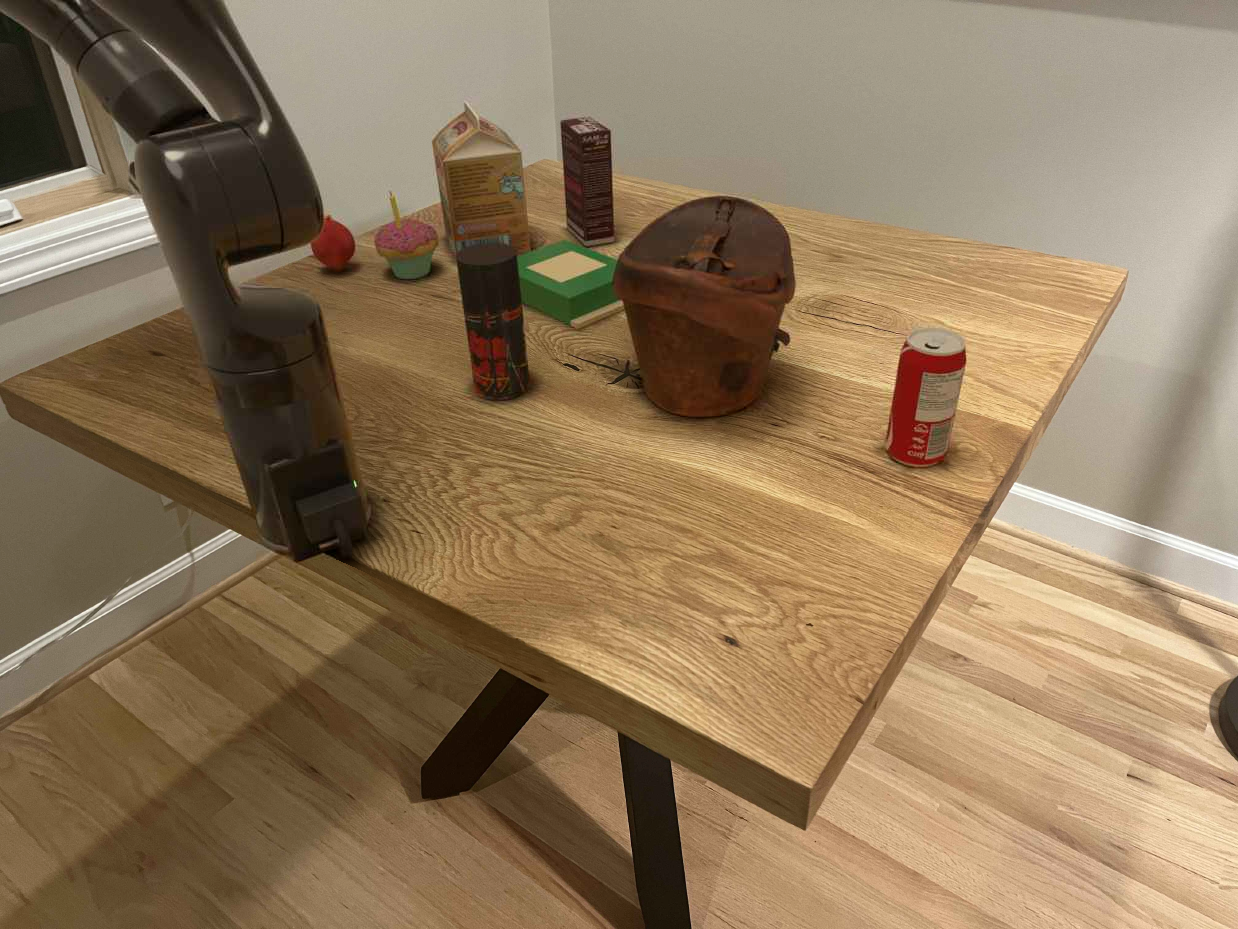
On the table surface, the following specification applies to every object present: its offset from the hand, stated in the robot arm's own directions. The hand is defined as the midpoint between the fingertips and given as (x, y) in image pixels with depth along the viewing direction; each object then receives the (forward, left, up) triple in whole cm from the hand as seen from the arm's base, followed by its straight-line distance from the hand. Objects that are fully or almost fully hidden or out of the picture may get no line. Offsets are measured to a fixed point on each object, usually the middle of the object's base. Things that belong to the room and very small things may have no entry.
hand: (259, 222), depth 92 cm
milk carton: (+22, -34, -17) cm, 44 cm away
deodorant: (-17, -17, -17) cm, 30 cm away
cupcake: (+19, -21, -17) cm, 33 cm away
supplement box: (+16, -48, -17) cm, 54 cm away
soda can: (-51, -43, -17) cm, 69 cm away
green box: (0, -35, -17) cm, 39 cm away
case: (-30, -34, -17) cm, 49 cm away
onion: (+26, -13, -17) cm, 34 cm away
